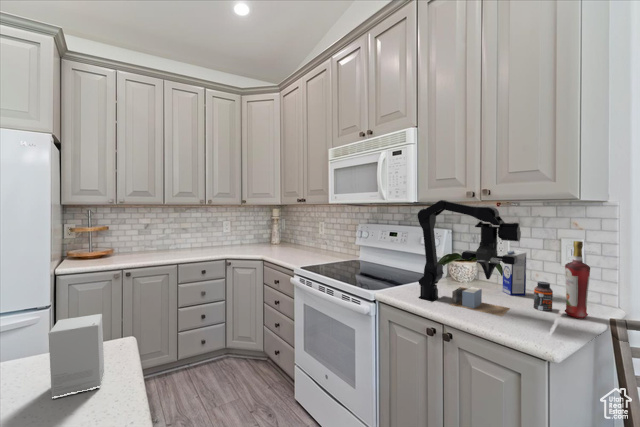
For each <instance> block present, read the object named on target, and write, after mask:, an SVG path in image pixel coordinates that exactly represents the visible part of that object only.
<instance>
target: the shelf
mask: <svg viewBox="0 0 640 427" xmlns="http://www.w3.org/2000/svg"><path fill="white" fill-rule="evenodd" d="M468 288H469V287H463V286H459V287H458V288H456V289H454V290H452V299H451V300H452V303H449V306H453V307H458V308H462V309H466V310H472V311H476V312H481V313H485V314H489V315H495V316H500V317H503V316H504V315H505V314H506V313H507V312H508V311H509V310H510V309H511V308H510V307H506V306H501V305H497V304H496V305H495V304H491V303H486V302H482V303H481V304H480V305H479V306H477V307H476V308H474V309H473V308H469V307H464V306H462V292H463V291H464V290H466V289H468Z"/></svg>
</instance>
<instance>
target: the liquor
mask: <svg viewBox="0 0 640 427" xmlns="http://www.w3.org/2000/svg"><path fill="white" fill-rule="evenodd" d="M583 246H584V242H583V241H579V240H574V241H573V254H572V255H573V256H572V260H571V262H567V263H566V264H564V275H565V276H564V278H565V280H564V282H565V309H564V313H566V315H568V317H571V318H575V319H584V318H586V317H588V316H589V313H587V312H588V311H587V309H588V297H589V296H588V295H589V294H588V293H589V286H590V276H591V275H590V274H591V266H589V265H588V264H586V263H584V261H583V260H584V259H583Z"/></svg>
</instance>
